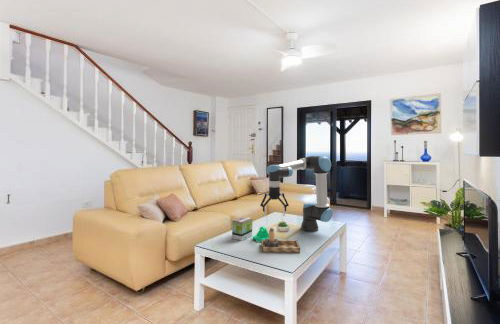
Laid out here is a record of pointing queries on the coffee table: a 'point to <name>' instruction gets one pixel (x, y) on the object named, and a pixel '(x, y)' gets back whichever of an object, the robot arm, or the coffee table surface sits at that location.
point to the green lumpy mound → (261, 234)
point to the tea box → (241, 228)
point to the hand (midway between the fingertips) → (274, 215)
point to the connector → (271, 235)
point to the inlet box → (280, 246)
